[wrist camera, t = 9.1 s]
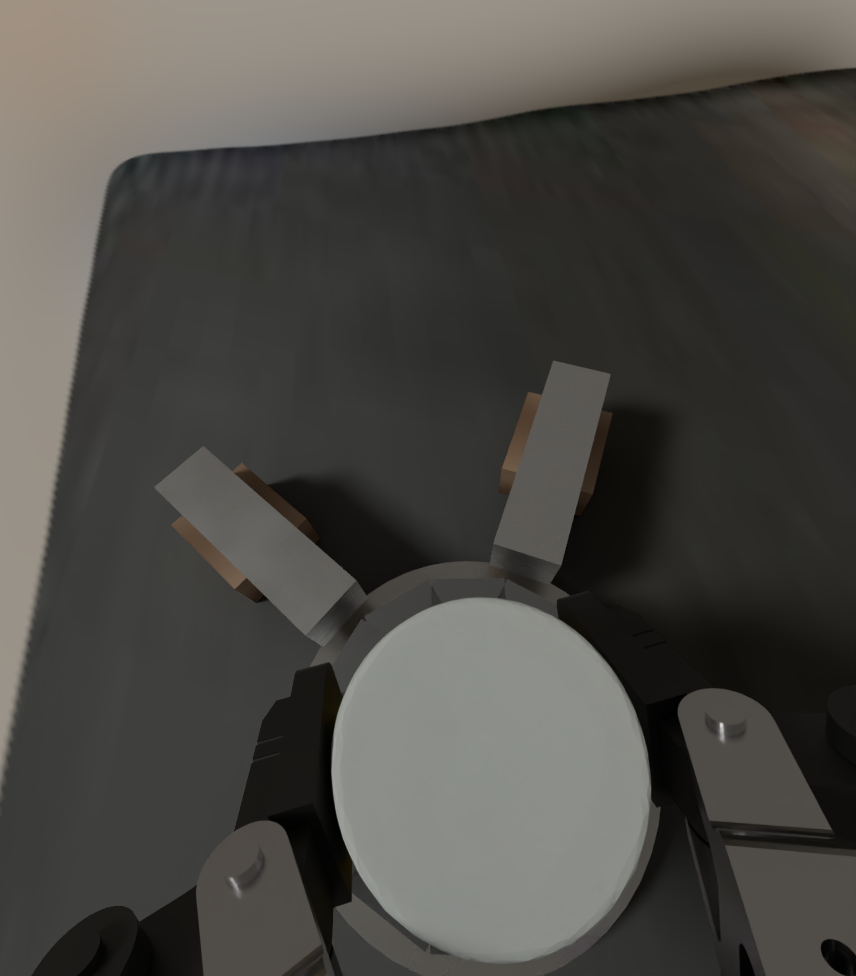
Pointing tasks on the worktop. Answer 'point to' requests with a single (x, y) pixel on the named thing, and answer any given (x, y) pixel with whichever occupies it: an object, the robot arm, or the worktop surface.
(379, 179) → the worktop surface
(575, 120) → the worktop surface
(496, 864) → the supplement bottle
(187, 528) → the blocks
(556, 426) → the angled shafts
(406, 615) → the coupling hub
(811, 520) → the worktop surface
